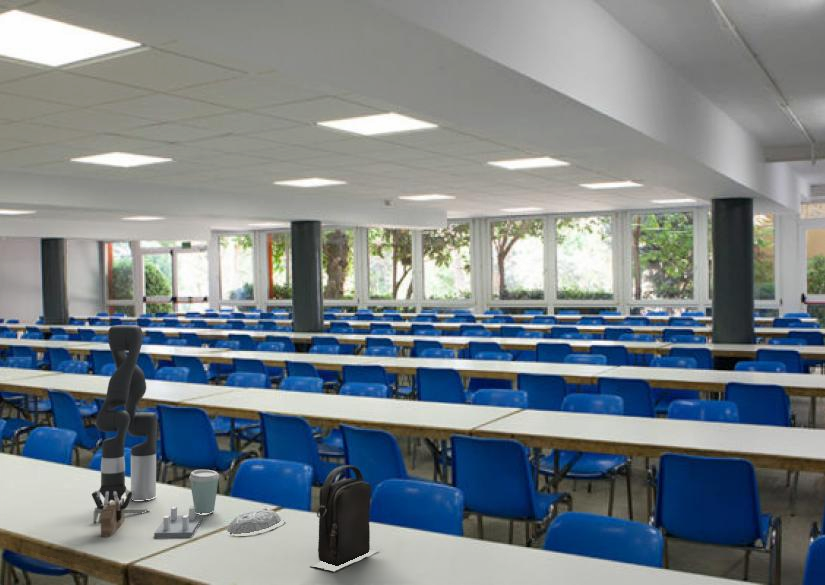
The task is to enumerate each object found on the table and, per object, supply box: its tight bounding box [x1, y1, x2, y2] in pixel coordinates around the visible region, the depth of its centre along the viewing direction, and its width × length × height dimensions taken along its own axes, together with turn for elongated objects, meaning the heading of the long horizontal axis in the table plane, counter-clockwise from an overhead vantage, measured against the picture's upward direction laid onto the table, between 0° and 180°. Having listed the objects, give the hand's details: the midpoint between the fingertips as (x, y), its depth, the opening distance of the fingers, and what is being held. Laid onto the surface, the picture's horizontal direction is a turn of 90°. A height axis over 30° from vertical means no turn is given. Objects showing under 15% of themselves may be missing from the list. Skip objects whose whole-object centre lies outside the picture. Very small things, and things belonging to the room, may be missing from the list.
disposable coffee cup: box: [188, 469, 220, 514], centre depth 283 cm, size 11×11×15 cm
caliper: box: [92, 507, 148, 524], centre depth 278 cm, size 20×1×6 cm, turn 136°
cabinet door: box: [100, 497, 125, 537], centre depth 263 cm, size 16×4×8 cm, turn 5°
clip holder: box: [153, 505, 204, 539], centre depth 265 cm, size 20×12×6 cm, turn 5°
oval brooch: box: [226, 507, 282, 534], centre depth 267 cm, size 16×25×7 cm, turn 148°
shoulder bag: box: [316, 464, 372, 566], centre depth 235 cm, size 23×9×28 cm, turn 146°
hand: (112, 521), depth 263 cm, fingers closed on cabinet door, 3 cm apart
